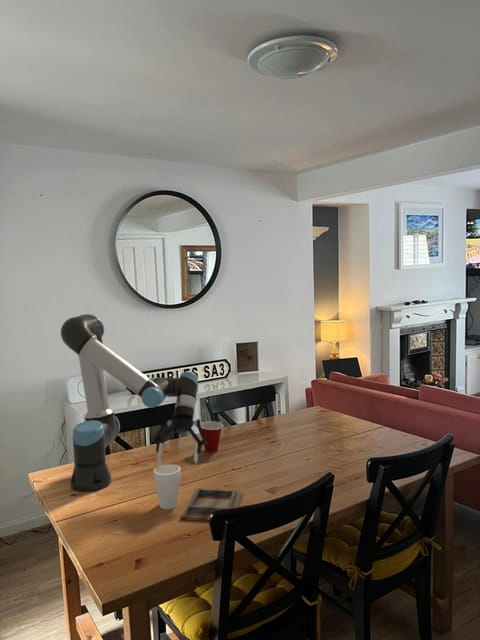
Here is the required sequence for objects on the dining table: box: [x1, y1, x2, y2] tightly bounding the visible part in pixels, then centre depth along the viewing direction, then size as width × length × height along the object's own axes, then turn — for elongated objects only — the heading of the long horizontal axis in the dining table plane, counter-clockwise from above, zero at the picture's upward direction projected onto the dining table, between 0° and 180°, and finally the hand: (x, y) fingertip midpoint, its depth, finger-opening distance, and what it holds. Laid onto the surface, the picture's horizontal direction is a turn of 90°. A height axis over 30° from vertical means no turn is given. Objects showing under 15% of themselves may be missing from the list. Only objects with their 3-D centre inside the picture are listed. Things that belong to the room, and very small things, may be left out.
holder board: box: [180, 488, 244, 522], centre depth 182 cm, size 18×20×3 cm
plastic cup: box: [201, 420, 224, 453], centre depth 237 cm, size 11×11×12 cm
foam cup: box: [153, 463, 182, 510], centre depth 184 cm, size 10×9×13 cm
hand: (176, 461), depth 191 cm, fingers open, 13 cm apart
